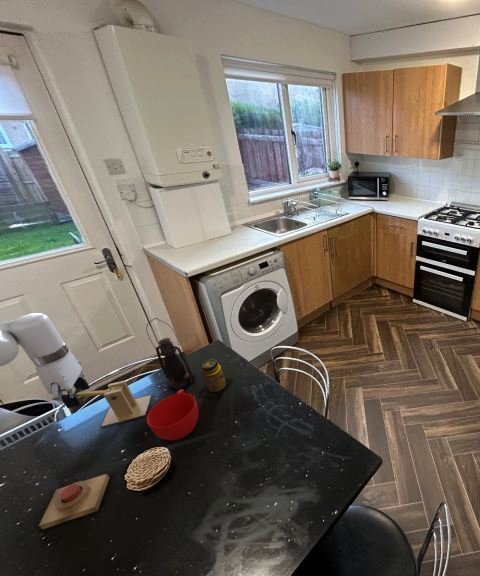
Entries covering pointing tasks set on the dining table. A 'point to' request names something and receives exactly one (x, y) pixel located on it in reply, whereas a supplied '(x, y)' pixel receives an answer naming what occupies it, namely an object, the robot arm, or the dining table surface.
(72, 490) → the button
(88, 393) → the lever
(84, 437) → the dining table surface
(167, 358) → the lantern
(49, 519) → the button block
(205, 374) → the condiment
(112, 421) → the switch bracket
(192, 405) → the ceramic cup
